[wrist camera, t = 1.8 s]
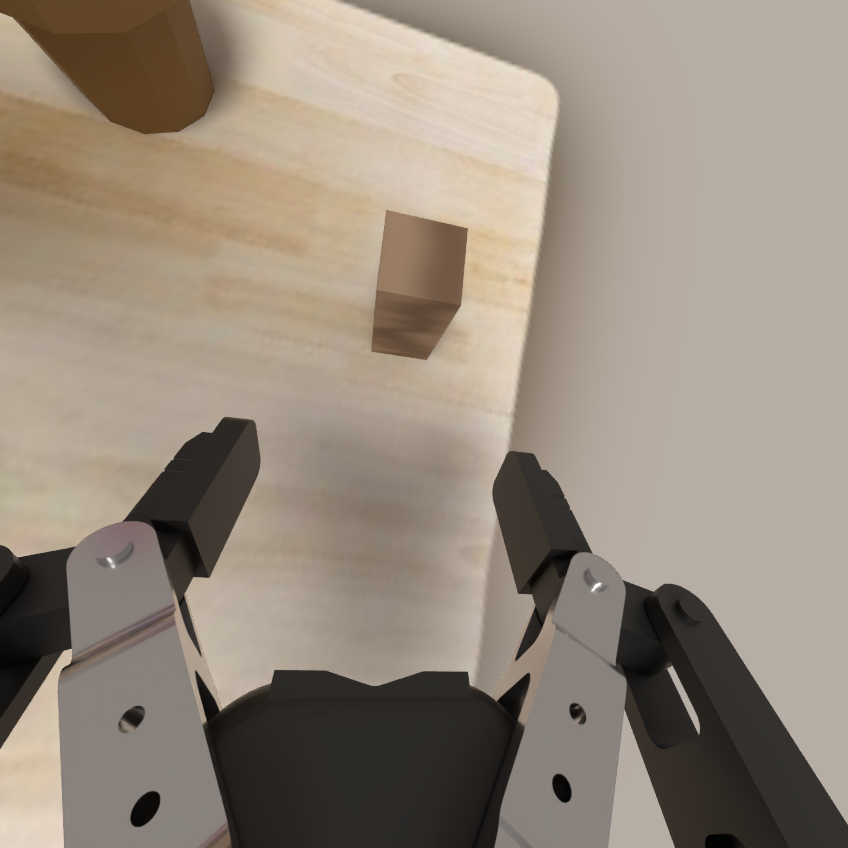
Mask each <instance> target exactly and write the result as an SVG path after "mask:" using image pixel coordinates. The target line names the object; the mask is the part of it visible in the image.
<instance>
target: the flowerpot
mask: <svg viewBox="0 0 848 848" xmlns="http://www.w3.org/2000/svg"><path fill="white" fill-rule="evenodd" d="M0 13H3V14H5V15H8V16H10V17H13V18H14V19H15V20H16V21H17V22H18V23H19V24H20V26H21V27H22V28H23V29H24V30H25V31H26V32H27V33H28V34H29V35H30V36H31V37H32V39H33V40H34V41H35V42H36V43H37V44H38V45H39V46H40V47H41V48H42V49H43V51H44V52H45V53H46V54H47V55H48V56H49V57H50V58H51V59H52V60H53V61H54V63H55V64H56V65H57V66H58V67H59V68H60V69H61V70H62V71H63V72H64V73H65V75H66V76H67V77H68V78H69V79H70V80H71V81H72V82H73V83H74V84H75V85H76V87H77V88H78V89H79V90H80V91H81V92H82V93H83V94H84V95H85V96H86V97H87V98H88V99H89V100H90V101H91V102H92V103H93V104H94V105H95V106H96V107H97V108H98V109H99V110H100V111H101V112H102V113H103V114H104V115H105V116H106V117H107V118H108V119H109V120H110V121H111V122H113V123H116V124H119V125H122V126H124V127H127V128H130V129H133V130H135V131H138V132H141V133H144V134H150V133H165V132H179V131H181V130H182V129H184V128H185V127H187V126H189V125H190V124H192V123H193V122H195V121H197V120H198V119H200V118H201V117H203V116H204V115H205V113H206V110H207V108H208V105H209V103H210V100H211V98H212V96H213V93H214V88H213V85H212V81H211V77H210V73H209V69H208V65H207V61H206V58H205V54H204V51H203V47H202V44H201V40H200V36H199V33H198V29H197V26H196V22H195V19H194V15H193V11H192V8H191V4H190V1H189V0H0Z"/></svg>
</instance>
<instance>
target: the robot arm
mask: <svg viewBox="0 0 848 848" xmlns="http://www.w3.org/2000/svg"><path fill="white" fill-rule="evenodd" d="M259 469H260V451H259V444H258V437H257V430H256V424H255V422H254V420H248V419H240V418H231V417H224V418H223V419H222V420H221V421H220V423H219V424H218V426H217V427H216V428H215V430H214V431H213V433H207V432H202V433H200V434H199V435H197V436H195V437H194V438H192V439H191V440H189V441H188V442H186V443H185V444H184V445H183V446H182V448H181V449H180V450H179V451H178V453H177V454H176V455H175V457H174V460H171V462H170V463H169V464H168V465H167V467H166V468H165V471H164V472H162V473H161V474H160V475H159V477H158V478H157V479H156V480H155V482H154V483H153V484H152V486H151V487H150V488H149V489H148V491H147V492H146V493H145V494H144V496H143V497H142V498H141V499H140V501H139V502H138V503H137V504H136V506H135V507H134V508H133V510H132V511H131V512H130V513H129V515H128V516H127V517H126V518H125V519H124V520H123V522H120V523H116V524H112V525H109V526H107V527H104V528H102V529H100V530H98V531H96V532H94V533H92V534H91V535H89V536H88V537H86V538H85V539H84V540H83V541H81V542H80V543H79V544H78V545H77V546H76V547H72V548H67V549H61V550H56V551H51V552H45V553H40V554H34V555H29V556H24V557H18V558H17V557H16V556H15V555H14V554H13V553H12V552H11V551H10V550H9V549H8V548H6V547H5V546H2V545H0V749H1V747H2V745H3V744H4V742H5V741H6V739H7V738H8V736H9V735H10V733H11V731H12V730H13V728H14V727H15V725H16V724H17V722H18V721H19V719H20V717H21V716H22V714H23V713H24V711H25V710H26V708H27V706H28V705H29V703H30V702H31V700H32V699H33V697H34V696H35V694H36V692H37V691H38V689H39V688H40V686H41V685H42V683H43V682H44V680H45V678H46V677H47V675H48V674H49V672H50V671H51V669H52V668H53V666H54V664H55V663H56V661H57V660H58V658H59V657H60V655H61V654H62V652H63V651H64V650H68V649H72V660H71V663H70V664H69V665H67V666H65V667H64V668H63V669H62V671H61V673H60V676H59V680H58V707H59V731H60V756H61V780H62V805H63V829H64V848H608V843H609V833H610V825H611V817H612V808H613V800H614V792H615V783H616V775H617V766H618V757H619V749H620V741H621V732H622V724H623V715H624V709H625V711H626V714H627V717H628V720H629V722H630V725H631V728H632V730H633V733H634V736H635V739H636V741H637V744H638V747H639V750H640V752H641V755H642V758H643V761H644V764H645V766H646V769H647V772H648V775H649V777H650V780H651V783H652V785H653V788H654V791H655V794H656V796H657V799H658V802H659V805H660V807H661V810H662V813H663V816H664V818H665V821H666V824H667V826H668V829H669V832H670V835H671V838H672V840H673V843H674V846H675V848H848V825H847V823H846V821H845V820H844V818H843V817H842V815H841V814H840V812H839V811H838V809H837V808H836V806H835V804H834V803H833V801H832V800H831V798H830V796H829V795H828V793H827V792H826V790H825V789H824V787H823V786H822V784H821V782H820V781H819V779H818V778H817V776H816V775H815V773H814V772H813V770H812V768H811V767H810V765H809V764H808V762H807V761H806V759H805V757H804V756H803V755H802V753H801V751H800V750H799V748H798V747H797V745H796V744H795V742H794V740H793V739H792V737H791V736H790V734H789V733H788V731H787V729H786V728H785V726H784V725H783V723H782V722H781V720H780V719H779V717H778V715H777V714H776V712H775V711H774V709H773V708H772V706H771V705H770V703H769V701H768V700H767V698H766V697H765V695H764V694H763V692H762V690H761V689H760V687H759V686H758V684H757V683H756V681H755V680H754V678H753V677H752V675H751V673H750V672H749V670H748V669H747V667H746V666H745V664H744V663H743V661H742V659H741V658H740V656H739V655H738V653H737V652H736V650H735V649H734V647H733V645H732V644H731V642H730V641H729V639H728V638H727V636H726V634H725V633H724V631H723V630H722V628H721V627H720V625H719V623H718V622H717V621H716V619H715V617H714V616H713V614H712V613H711V611H710V610H709V609H708V608H707V606H706V605H705V604H704V603H703V602H702V601H701V600H700V599H699V598H698V597H696V596H695V595H694V594H693V593H691V592H690V591H688V590H686V589H684V588H683V587H681V586H678V585H674V584H664V585H662V586H661V587H659V588H658V589H657V590H655V591H654V592H653V591H650V590H647V589H644V588H642V587H639V586H636V585H634V584H631V583H629V582H626V581H624V580H622V579H621V577H620V575H619V573H618V572H617V571H616V570H615V569H614V567H613V566H612V565H611V564H609V563H608V562H607V561H606V560H604V559H603V558H601V557H599V556H597V555H594V554H593V553H592V551H591V549H590V547H589V545H588V543H587V541H586V539H585V537H584V535H583V533H582V531H581V529H580V527H579V525H578V523H577V521H576V519H575V517H574V515H573V513H572V511H571V510H570V506H569V504H568V502H567V500H566V499H564V494H563V492H562V490H561V488H560V486H559V484H558V482H557V481H556V480H555V479H554V478H553V477H552V476H551V475H550V474H549V472H547V470H541V468H540V465H539V463H538V461H537V459H536V457H535V455H534V454H532V453H524V452H516V451H510V452H508V454H507V455H506V458H505V460H504V462H503V464H502V466H501V468H500V470H499V473H498V475H497V477H496V479H495V481H494V484H493V492H492V494H493V501H494V505H495V509H496V513H497V516H498V520H499V524H500V527H501V531H502V535H503V538H504V543H505V546H506V550H507V554H508V557H509V561H510V565H511V569H512V572H513V576H514V580H515V583H516V587H517V591H518V594H532V596H533V599H534V602H535V603H534V604H533V606H532V607H531V610H530V612H529V614H528V617H527V620H526V622H525V624H524V627H523V629H522V632H521V634H520V637H519V639H518V642H517V645H516V647H515V650H514V652H513V655H512V657H511V660H510V662H509V664H508V666H507V668H506V670H505V672H504V674H503V675H502V677H501V678H500V680H499V682H498V684H497V686H496V688H495V690H494V692H493V694H492V696H491V697H490V696H489V695H487V694H486V693H484V692H483V691H481V690H479V689H477V688H475V687H473V686H470V685H469V677H468V672H436V671H423V672H420V673H417V674H414V675H411V676H408V677H405V678H401V679H398V680H395V681H392V682H389V683H386V684H383V685H380V686H370V685H367V684H364V683H361V682H358V681H355V680H352V679H349V678H346V677H343V676H340V675H337V674H334V673H331V672H328V671H315V670H275V671H274V675H273V679H272V683H271V684H268V685H265V686H262V687H260V688H257V689H255V690H253V691H251V692H248V693H247V694H245V695H243V696H242V697H240V698H238V699H236V700H235V701H233V702H232V703H231V704H229V705H228V706H226V707H225V708H224V709H222V706H221V703H220V700H219V696H218V693H217V690H216V687H215V684H214V681H213V679H212V676H211V673H210V671H209V668H208V666H207V663H206V660H205V657H204V653H203V650H202V647H201V643H200V640H199V636H198V633H197V630H196V626H195V623H194V620H193V616H192V613H191V609H190V606H189V603H188V599H187V596H186V593H185V592H186V590H187V588H188V586H189V584H190V582H191V580H192V578H193V577H205V578H209V577H210V575H211V573H212V571H213V569H214V567H215V565H216V563H217V560H218V558H219V556H220V554H221V552H222V550H223V548H224V546H225V544H226V541H227V539H228V537H229V535H230V533H231V531H232V529H233V527H234V525H235V522H236V520H237V518H238V516H239V514H240V512H241V510H242V508H243V506H244V503H245V501H246V499H247V497H248V495H249V493H250V491H251V489H252V487H253V484H254V482H255V480H256V478H257V476H258V473H259ZM671 666H673V667H674V669H675V671H676V673H677V675H678V677H679V679H680V681H681V683H682V685H683V687H684V689H685V691H686V693H687V695H688V697H689V699H690V702H691V704H692V706H693V708H694V710H695V712H696V714H697V716H698V719H699V723H700V734H699V735H698V732H697V730H696V728H695V726H694V724H693V722H692V720H691V718H690V716H689V714H688V712H687V710H686V708H685V705H684V703H683V701H682V699H681V697H680V695H679V693H678V691H677V689H676V687H675V684H674V682H673V681H672V678H671V676H670V674H669V672H668V670H667V668H669V667H671Z"/></svg>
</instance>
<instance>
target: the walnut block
mask: <svg viewBox="0 0 848 848" xmlns="http://www.w3.org/2000/svg"><path fill="white" fill-rule="evenodd" d="M467 231H468V228H463V227H459V226H454V225H450V224H446V223H441V222H437V221H432V220H428V219H424V218H419V217H415V216H410V215H406V214H401V213H397V212H393V211H388V210H386V217H385V225H384V233H383V241H382V249H381V257H380V265H379V274H378V282H377V290H376V302H375V314H374V327H373V339H372V352H379V353H385V354H392V355H398V356H405V357H411V358H418V359H424V360H427V358H428V356H429V355H430V353H431V352H432V350H433V349H434V347H435V345H436V344H437V342H438V341H439V339H440V337H441V336H442V334H443V333H444V331H445V330H446V328H447V326H448V325H449V323H450V322H451V320H452V319H453V317H454V315H455V314H456V312H457V311H458V309H459V308H460V306H461V298H462V287H463V276H464V265H465V254H466V243H467Z"/></svg>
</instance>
